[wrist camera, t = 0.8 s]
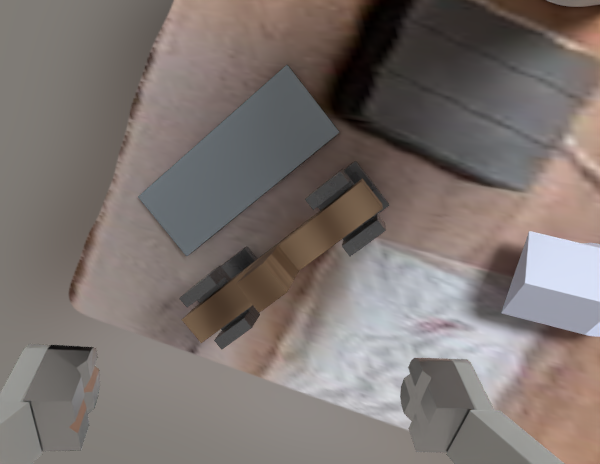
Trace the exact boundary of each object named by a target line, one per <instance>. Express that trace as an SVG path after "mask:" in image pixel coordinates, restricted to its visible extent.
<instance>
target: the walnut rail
mask: <svg viewBox="0 0 600 464" xmlns="http://www.w3.org/2000/svg"><path fill="white" fill-rule="evenodd" d="M382 209H383V207H382V203H381V202H380V200H379V199H378V198H377V196H376V195H375V194H374V193H373V191H372V190H371V189H370V187H369V186H368V185H367V184H366V182H365V181H364V180H363V178H362V179H361V180H360V181H358V182H357V183H356V184H355V185H353V186H352V187H351V188H349V189H348V190H347V191H345V192H344V193H343V194H342V195H340V196H339V197H338V198H336V199H335V200H334V201H332V202H331V203H330V204H329V205H327V206H326V207H325V208H323V209H322V210H321V211H319V212H318V213H317V214H316V215H314V216H313V217H312V218H310V219H309V220H308V221H306V222H305V223H304V224H303V225H301V226H300V227H299V228H297V229H296V230H295V231H293V232H292V233H291V234H290V235H288V236H287V237H286V238H284V239H283V240H282V241H281V242H279V243H278V244H277V245H275V246H274V247H273V248H271V249H270V250H269V251H268V252H266V253H265V254H264V255H262V256H261V257H260V258H258V259H257V260H256V261H255V262H253V263H252V264H251V265H249V266H248V267H247V268H245V269H244V270H243V271H242V272H240V273H239V274H238V275H236V276H235V277H234V278H232V279H231V280H230V281H229V282H227V283H226V284H225V285H223V286H222V287H221V288H220V289H218V290H217V291H216V292H214V293H213V294H212V295H210V296H209V297H208V298H207V299H205V300H204V301H203V302H201V303H200V304H199V305H197V306H196V307H195V308H194V309H192V310H191V311H190V312H189V313H188V314H187V315H186V316H185V317H184V318H183V319H182V321H183V322H184V323H185V324H186V326H187V327H188V328H189V329H190V330H191V332H192V333H193V334H194V335H195V336H196V338H197V339H198V340H199V341H200V342H201V343H202V342H204V341H205V340H206V339H208V338H209V337H210V336H212V335H213V334H214V333H216V332H217V331H218V330H220V329H221V328H222V327H224V326H225V325H227V324H228V323H229V322H231V321H232V320H233V319H235V318H236V317H237V316H239V315H240V314H241V313H243V312H244V311H245V310H247V309H248V308H249V307H251V306H252V305H253V306H254V307H255V308H256V310H257V311H258V312H261V311H262V310H264V309H265V308H266V307H268V306H269V305H270V304H272V303H273V302H274V301H276V300H277V299H279V298H280V297H281V296H283V295H284V294H285V293H287V292H288V290H289V288H290V286H291V284H292V283H293V281H294V279H295V277H296V275H297V273H298V272H299V270H301V269H302V268H303V267H305V266H306V265H307V264H309V263H310V262H312V261H313V260H314V259H316V258H317V257H318V256H320V255H321V254H322V253H324V252H325V251H326V250H328V249H329V248H330V247H332V246H333V245H334V244H336V243H337V242H338V241H340V240H341V239H343V238H344V237H345V236H347V235H348V234H349V233H351V232H352V231H353V230H355V229H356V228H357V227H359V226H360V225H361V224H363V223H364V222H365V221H367V220H368V219H370V218H371V217H372V216H374V215H375V214H376V213H378V212H379V211H380V210H382Z"/></svg>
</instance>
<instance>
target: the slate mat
mask: <svg viewBox="0 0 600 464" xmlns="http://www.w3.org/2000/svg"><path fill="white" fill-rule="evenodd" d="M338 133H339V131H338V130H337V128H336V127H335V126H334V124H333V123H332V122H331V121H330V119H329V118H328V117H327V115H326V114H325V113H324V111H323V110H322V109H321V108H320V106H319V105H318V104H317V102H316V101H315V100H314V99H313V97H312V96H311V95H310V93H309V92H308V91H307V89H306V88H305V87H304V86H303V84H302V83H301V82H300V80H299V79H298V78H297V77H296V75H295V74H294V73H293V71H292V70H291V69H290V67H289V66H288V65H286V66H285V67H284V68H283V69H281V70H280V71H279V72H278V73H277V74H276V75H275V76H274V77H272V78H271V79H270V80H269V81H268V82H267V83H266V84H265V85H263V86H262V87H261V88H260V89H259V90H258V91H257V92H256V93H254V94H253V95H252V96H251V97H250V98H249V99H248V100H247V101H245V102H244V103H243V104H242V105H241V106H240V107H239V108H238V109H236V110H235V111H234V112H233V113H232V114H231V115H230V116H228V117H227V118H226V119H225V120H224V121H223V122H222V123H221V124H219V125H218V126H217V127H216V128H215V129H214V130H213V131H212V132H210V133H209V134H208V135H207V136H206V137H205V138H204V139H203V140H201V141H200V142H199V143H198V144H197V145H196V146H195V147H194V148H192V149H191V150H190V151H189V152H188V153H187V154H186V155H185V156H183V157H182V158H181V159H180V160H179V161H178V162H177V163H175V164H174V165H173V166H172V167H171V168H170V169H169V170H168V171H166V172H165V173H164V174H163V175H162V176H161V177H160V178H159V179H157V180H156V181H155V182H154V183H153V184H152V185H151V186H150V187H148V188H147V189H146V190H145V191H144V192H143V193H142V194H141V195H139V196H138V198H139V199H140V200H141V201H142V203H143V204H144V205H145V206H146V207H147V209H148V210H149V211H150V212H151V214H152V215H153V216H154V217H155V218H156V220H157V221H158V222H159V223H160V225H161V226H162V227H163V228H164V229H165V231H166V232H167V233H168V234H169V236H170V237H171V238H172V239H173V240H174V242H175V243H176V244H177V245H178V247H179V248H180V249H181V250H182V251H183V253H184V254H185V255H186V256H188V255H189V254H190V253H192V252H193V251H194V250H195V249H197V248H198V247H199V246H200V245H202V244H203V243H204V242H205V241H206V240H208V239H209V238H210V237H211V236H213V235H214V234H215V233H216V232H218V231H219V230H220V229H221V228H222V227H224V226H225V225H226V224H227V223H229V222H230V221H231V220H232V219H234V218H235V217H236V216H237V215H238V214H240V213H241V212H242V211H243V210H245V209H246V208H247V207H248V206H250V205H251V204H252V203H253V202H254V201H256V200H257V199H258V198H259V197H261V196H262V195H263V194H264V193H266V192H267V191H268V190H269V189H270V188H272V187H273V186H274V185H275V184H277V183H278V182H279V181H280V180H282V179H283V178H284V177H285V176H286V175H288V174H289V173H290V172H291V171H293V170H294V169H295V168H296V167H298V166H299V165H300V164H301V163H302V162H304V161H305V160H306V159H307V158H309V157H310V156H311V155H312V154H314V153H315V152H316V151H317V150H318V149H320V148H321V147H322V146H323V145H325V144H326V143H327V142H328V141H330V140H331V139H332V138H333V137H334V136H336V135H337V134H338Z"/></svg>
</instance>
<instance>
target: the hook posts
mask: <svg viewBox="0 0 600 464" xmlns="http://www.w3.org/2000/svg"><path fill="white" fill-rule="evenodd" d="M362 178H363V180H364V181H365V182H366V184H367V185H368V186H369V187H370V189H371V190H372V191H373V193H374V194H375V195H376V196H377V198H378V199H379V200H380V202H381V203H382V207H383V209H382V210H380V211H379V212H378V213H380V212H381V211H383V210H384V209H385V208H387V207H388V206H389V203H388V202H387V201H386V199H385V198H384V197H383V195H382V194H381V193H380V192H379V190H378V189H377V188H376V186H375V185H374V184H373V183H372V181H371V180H370V179H369V177H368V176H367V175H366V173H365V172H364V171H363V170H362V168H361V167H360V166H359V164H358V163H357V162H356V161H355V162H354V163H352V164H351V165H350V166H348V167H347V168H346V169H345V170H343V169H342V170H341V171H339V172H338V173H337V174H336V175H334V176H333V177H332V178H331V179H329V180H328V181H327V182H326V183H324V184H323V185H322V186H320V187H319V188H318V189H317V190H315V191H314V192H313V193H312V194H310V195H309V196H308V197H307V198H306V199H305V200H306V201H307V203H308V204H309V205H310V206H311V208H312V209H313V210H314V209H315V208H316V207H318V208H319V210H320V211H321V210H322V209H323V208H325V207H326V206H327V205H329V204H330V203H331V202H332V201H334V200H335V199H336V198H338V197H339V196H340V195H342V194H343V193H344V192H345V191H347V190H348V189H349V188H351V187H352V186H353V185H355V184H356V183H357V182H358V181H360V180H361V179H362ZM378 213H376V214H375V215H374V216H372V217H371V218H370V219H368V220H367V221H365V222H364V223H363V224H361V225H360V226H359V227H357V228H356V229H355V230H353V231H352V232H351V233H349V234H348V235H347V236H345V237H344V238H343V240H344V241H343V244H342V247H343V248H344V250H345V251H346V252H347V253H348V255H349V256H351V255H353V254H354V253H356V252H357V251H358V250H360V249H361V248H362V247H364V246H365V245H367V244H368V243H369V242H371V241H372V240H373V239H375V238H376V237H378V236H379V235H380V234H382V233H383V232H384V231H386V228H385V223H384V221H383V220H382V219H381V218H380V216H379V215H378ZM256 260H257V258H256V257H255V256H254V255H253V253H252V252H251V251H250V250H249V248H248V247H245V248H244V249H243V250H241V251H240V252H239V253H238V254H236V255H235V256H234V257H233V258H231V259H230V260H229V261H227V262H226V263H225V264H224V265H222V266H219V267H217V268H216V269H215V270H214V271H212V272H211V273H210V274H209V275H207V276H206V277H205V278H203V279H202V280H201V281H200V282H198V283H197V284H196V285H195V286H193V287H192V288H191V289H190V290H189V291H187V292H186V293H185V294H184V295H183V296H181V297H180V300H181V301H182V302H183V303H184V305H185V306H186V307H189V306H190V305H191V304H192V303H194V302H195V301H196V300H198V302H199V303H201V302H203V301H204V300H205V299H207V298H208V297H209V296H210V295H212V294H213V293H214V292H216V291H217V290H218V289H220V288H221V287H222V286H223V285H225V284H226V283H227V282H229V281H230V280H231V279H232V278H234V277H235V276H236V275H238V274H239V273H240V272H242V271H243V270H244V269H245V268H247V267H248V266H249V265H251V264H252V263H253V262H255V261H256ZM259 315H260V314H259V312H258V311H257V310H256V309H255V308H254V306H253V305H252V306H251V307H249V308H248V309H247V310H245V311H244V312H243V313H241V314H240V315H239V316H237V317H236V318H235V319H233V320H232V321H231V322H229V323H228V324H227V325H225V326H224V327H222V328H221V330H222V331H221V332H220V333H219V335H218V336H217V337H216V339H215V340H214V341H215V342H216V343H217V345H218V346H219V347H220V348H221V349H223V348H225V347H226V346H227V345H229V344H230V343H232V342H233V341H234V340H236V339H237V338H238V337H240V336H241V335H243V334H244V333H245V332H247V331H248V330H249V329H251V328H252V327H253V325H254V323H255V322H256V320H257V319H258V317H259Z"/></svg>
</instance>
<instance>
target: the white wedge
mask: <svg viewBox="0 0 600 464" xmlns="http://www.w3.org/2000/svg"><path fill="white" fill-rule="evenodd" d="M501 313H502V314H506V315H510V316H514V317H518V318H522V319H525V320H529V321H533V322H537V323H541V324H545V325H549V326H553V327H557V328H560V329H564V330H568V331H572V332H576V333H580V334H584V335H589V336H600V244H597V243H583V244H581V243H577V242H573V241H569V240H565V239H560V238H556V237H552V236H548V235H544V234H540V233H535V232H531V231H529V233H528V236H527V239H526V242H525V245H524V248H523V251H522V254H521V257H520V259H519V262H518V265H517V268H516V271H515V274H514V277H513V280H512V283H511V286H510V288H509V291H508V294H507V297H506V300H505V303H504V306H503V309H502V312H501Z"/></svg>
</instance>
